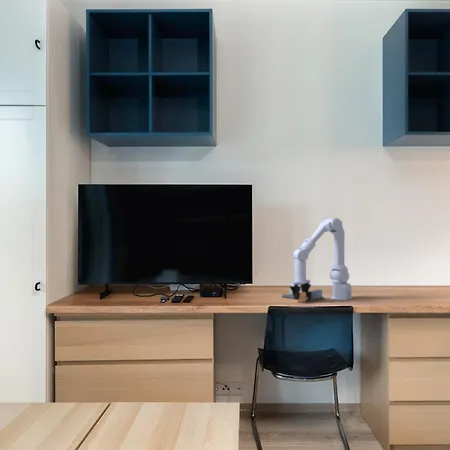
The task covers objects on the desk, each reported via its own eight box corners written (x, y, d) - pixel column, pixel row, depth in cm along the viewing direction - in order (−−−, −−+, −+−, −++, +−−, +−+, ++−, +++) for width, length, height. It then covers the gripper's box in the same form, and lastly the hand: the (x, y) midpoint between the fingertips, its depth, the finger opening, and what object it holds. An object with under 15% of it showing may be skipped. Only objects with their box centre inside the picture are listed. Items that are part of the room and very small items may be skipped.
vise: (323, 298, 236) (323, 289, 236) (310, 301, 227) (309, 292, 227) (295, 294, 249) (295, 286, 249) (281, 297, 240) (281, 288, 240)
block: (305, 301, 227) (305, 292, 227) (301, 302, 224) (301, 293, 224) (299, 300, 230) (299, 291, 230) (295, 301, 227) (295, 292, 227)
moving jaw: (303, 294, 243) (303, 287, 243) (293, 296, 236) (292, 289, 236) (299, 293, 245) (299, 286, 245) (288, 296, 238) (288, 288, 238)
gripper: (302, 270, 235) (302, 295, 235) (285, 273, 224) (285, 299, 225) (313, 271, 230) (313, 297, 230) (296, 274, 219) (297, 301, 220)
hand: (300, 298), depth 227 cm, fingers open, 7 cm apart
